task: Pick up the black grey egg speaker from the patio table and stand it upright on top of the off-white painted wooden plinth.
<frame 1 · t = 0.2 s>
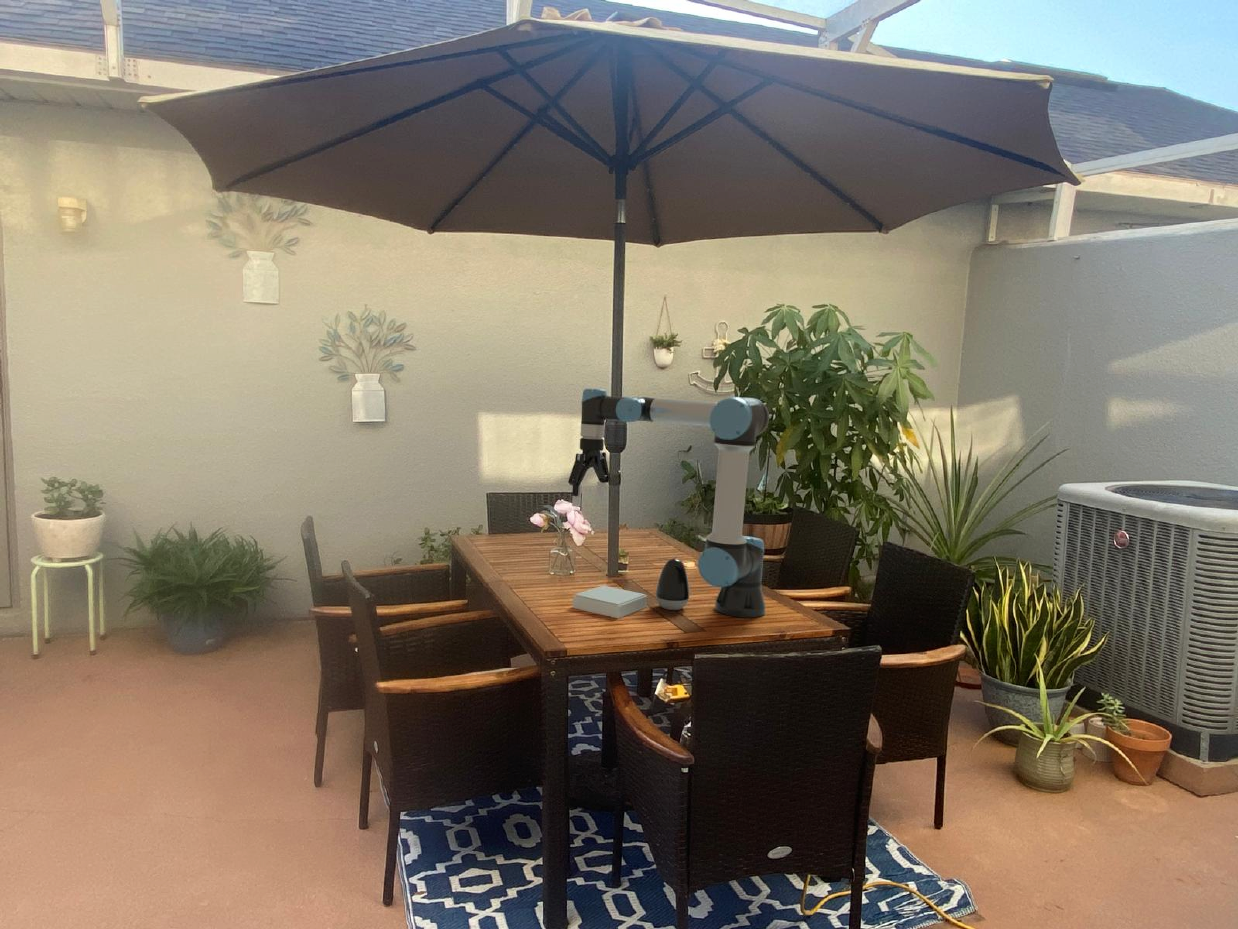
hand: (588, 504, 265), 28 cm above the table, fingers open, 13 cm apart
plinth: (609, 607, 248), on the table
black grey egg speaker: (671, 608, 252), on the table
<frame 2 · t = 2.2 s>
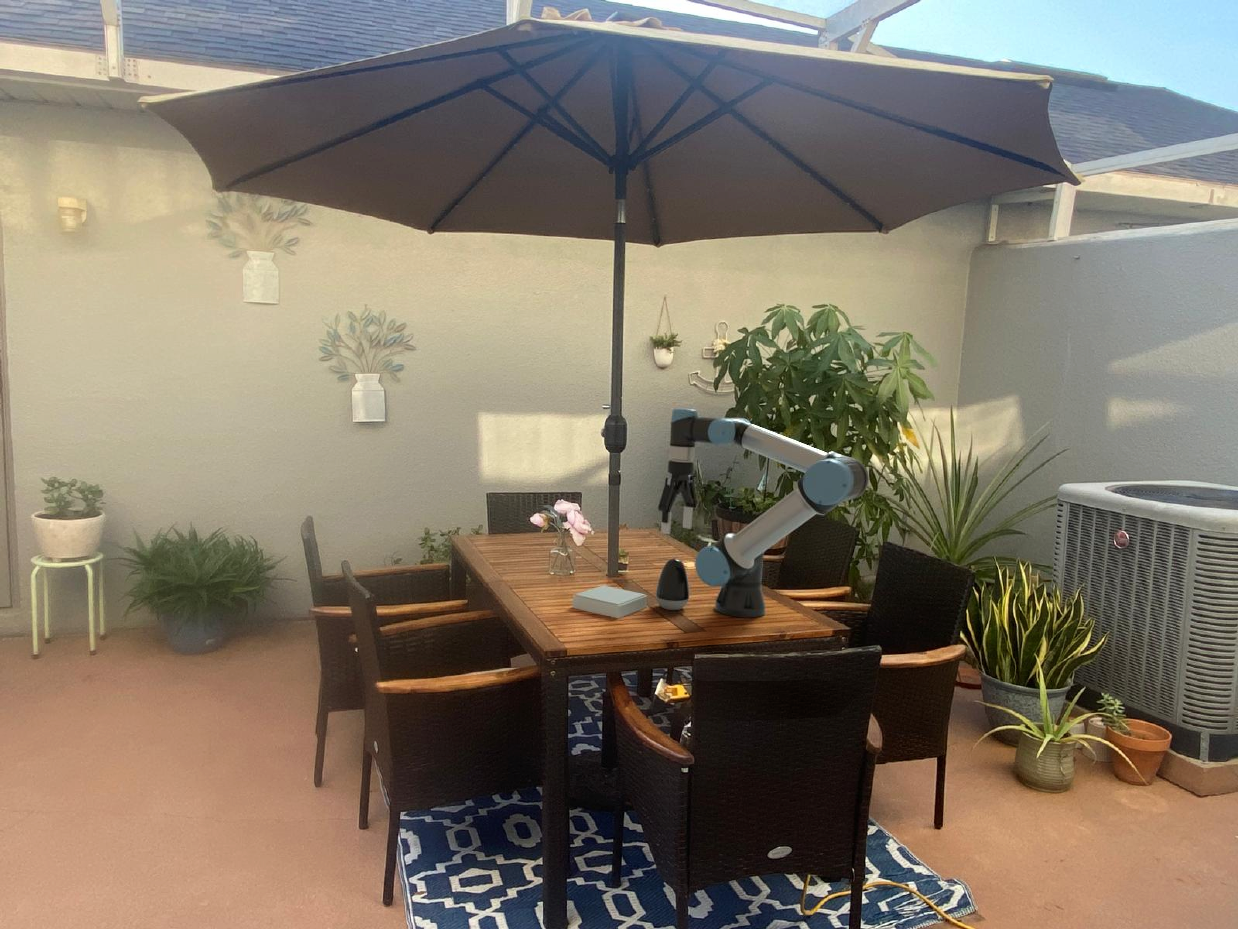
hand: (676, 530, 250), 24 cm above the table, fingers open, 13 cm apart
nothing on the table moved.
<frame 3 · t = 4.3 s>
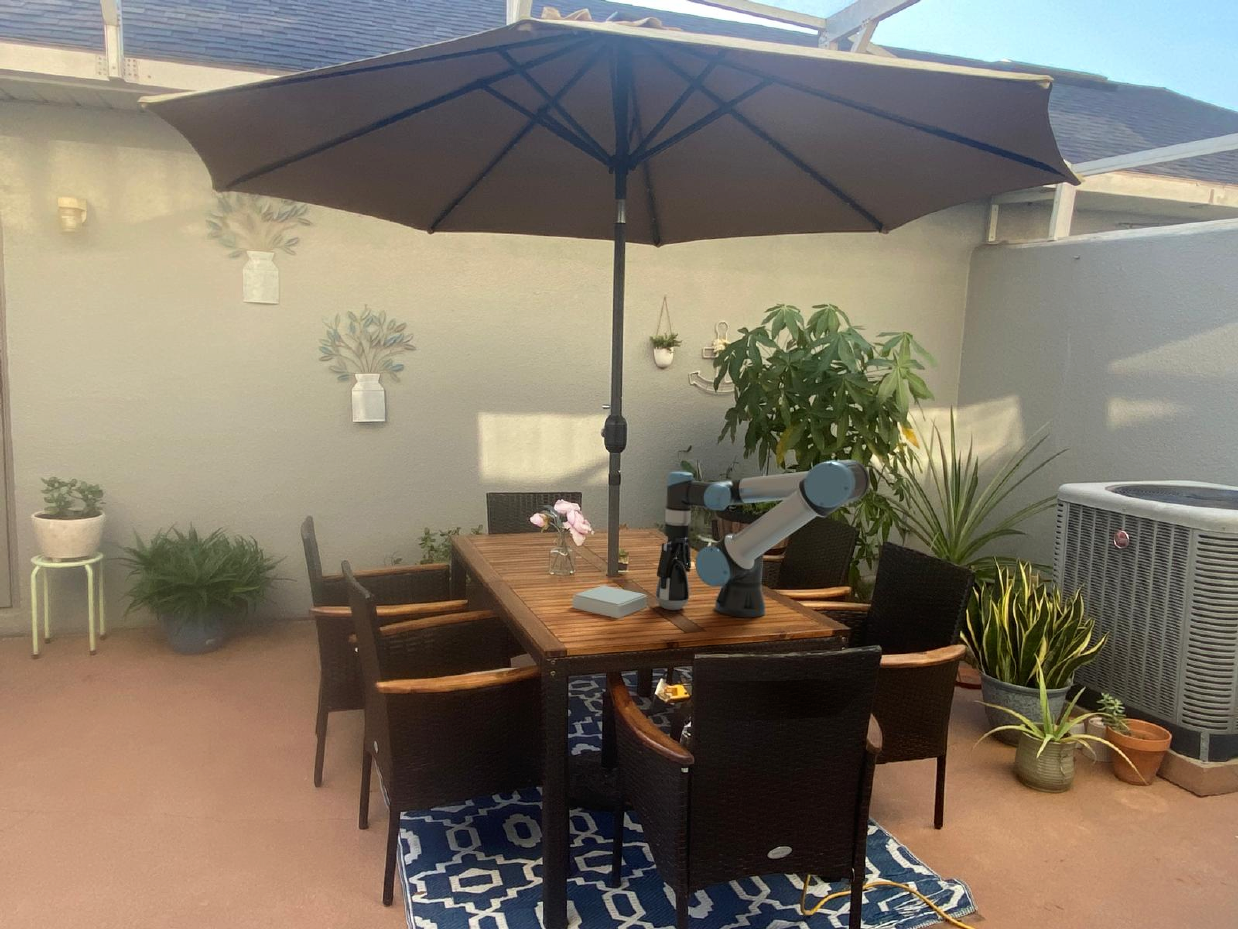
hand: (672, 595, 252), 4 cm above the table, fingers closed on black grey egg speaker, 10 cm apart
black grey egg speaker: (671, 608, 252), on the table, touching gripper
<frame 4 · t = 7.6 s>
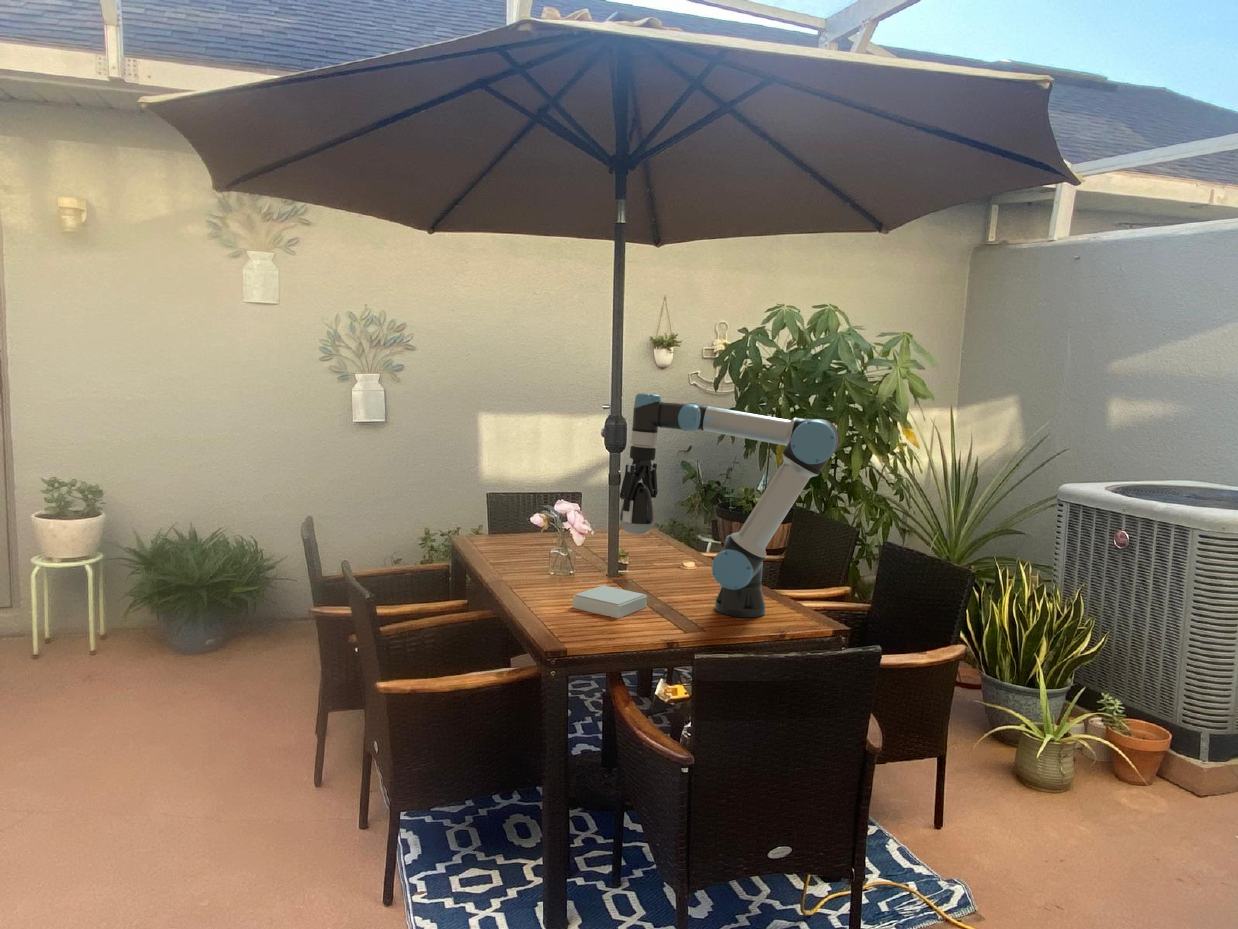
hand: (636, 520, 247), 27 cm above the table, fingers closed on black grey egg speaker, 10 cm apart
black grey egg speaker: (635, 533, 248), point 23 cm above the table, touching gripper
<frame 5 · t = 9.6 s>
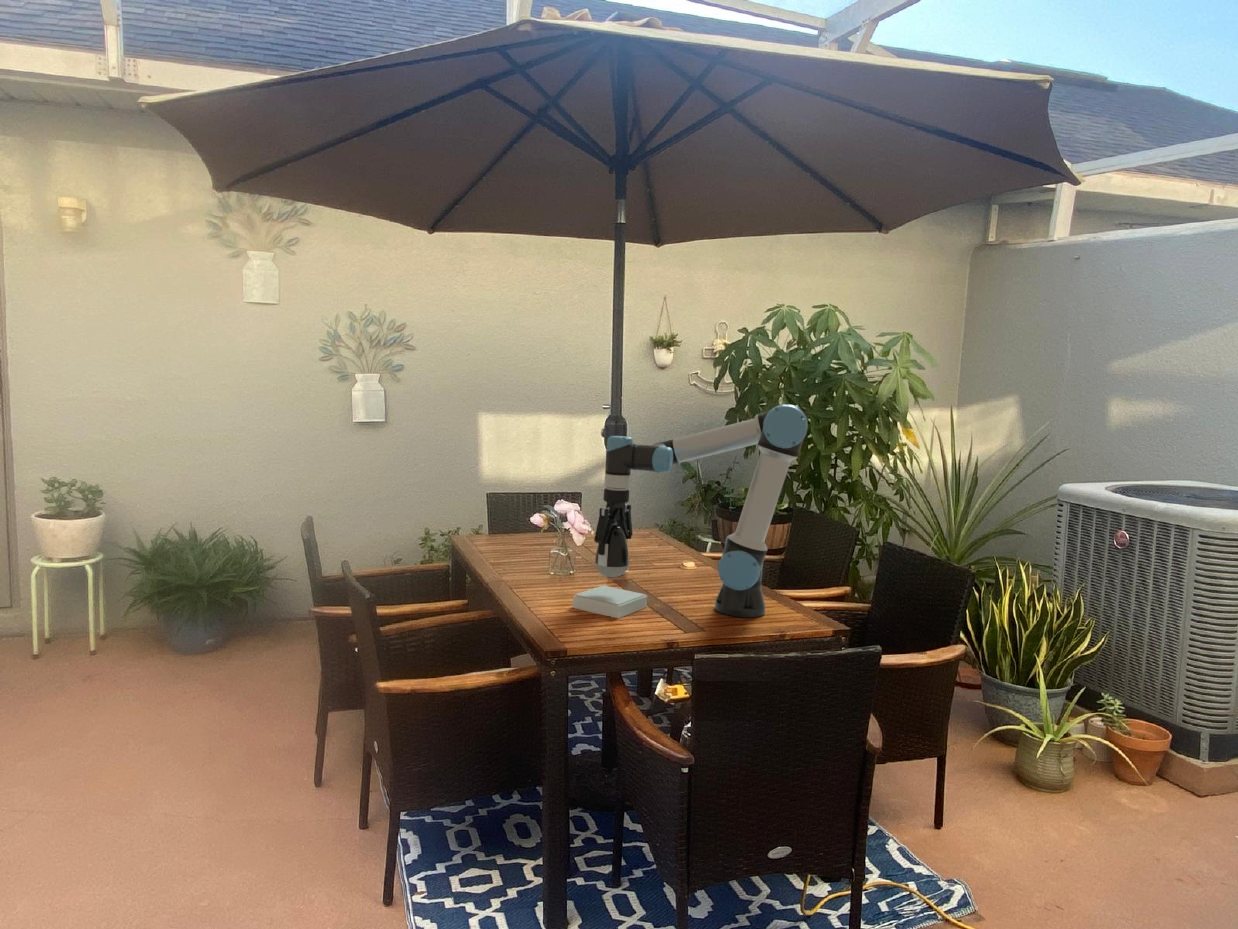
hand: (612, 562, 247), 14 cm above the table, fingers closed on black grey egg speaker, 10 cm apart
black grey egg speaker: (611, 575, 247), point 10 cm above the table, touching gripper
when the fingers open (9 cm above the table, at t = 11.0 s): black grey egg speaker drops 1 cm, resting on plinth.
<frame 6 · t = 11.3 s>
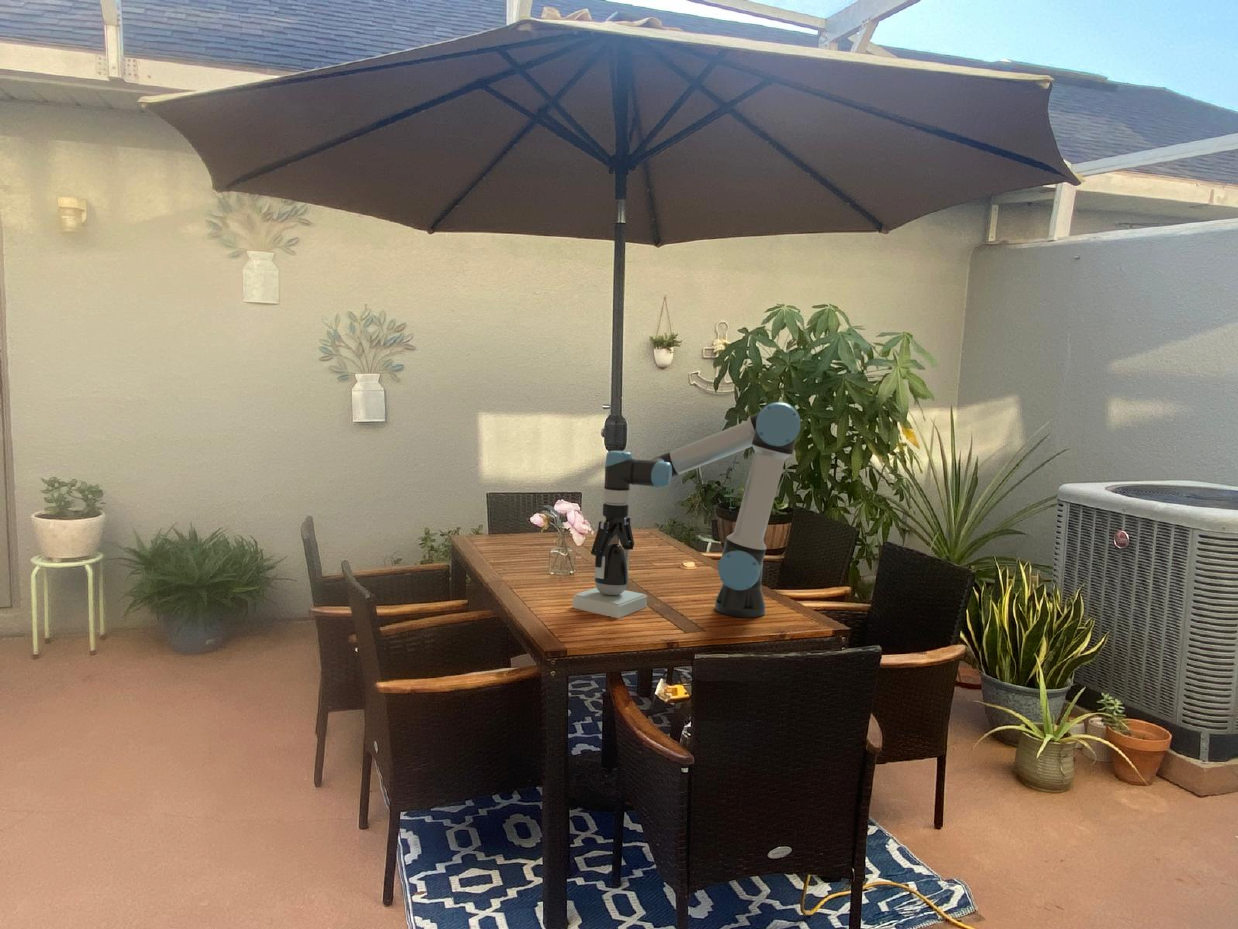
hand: (611, 574, 247), 10 cm above the table, fingers open, 13 cm apart
black grey egg speaker: (610, 594, 248), point 4 cm above the table, touching plinth
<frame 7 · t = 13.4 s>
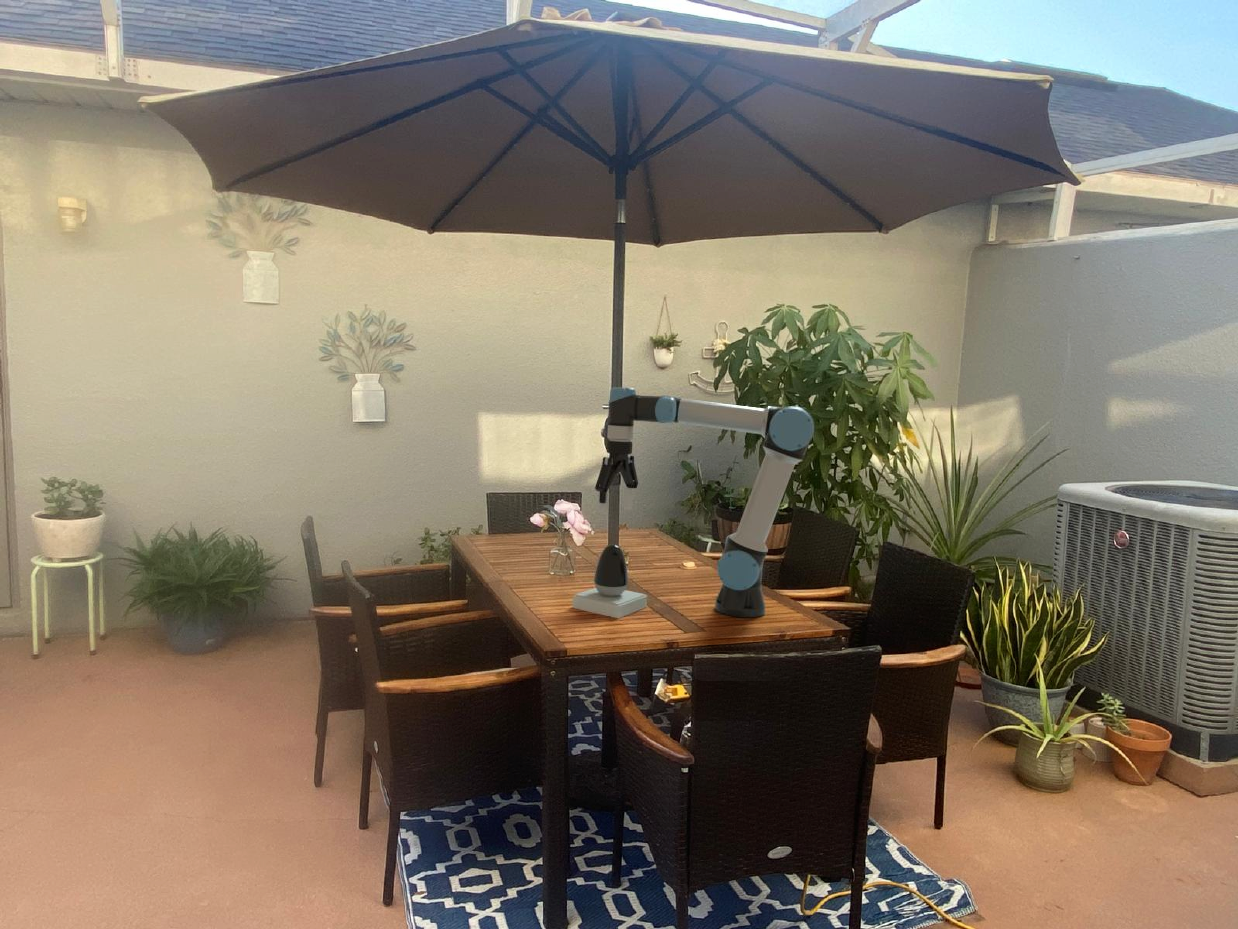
hand: (615, 511, 246), 29 cm above the table, fingers open, 13 cm apart
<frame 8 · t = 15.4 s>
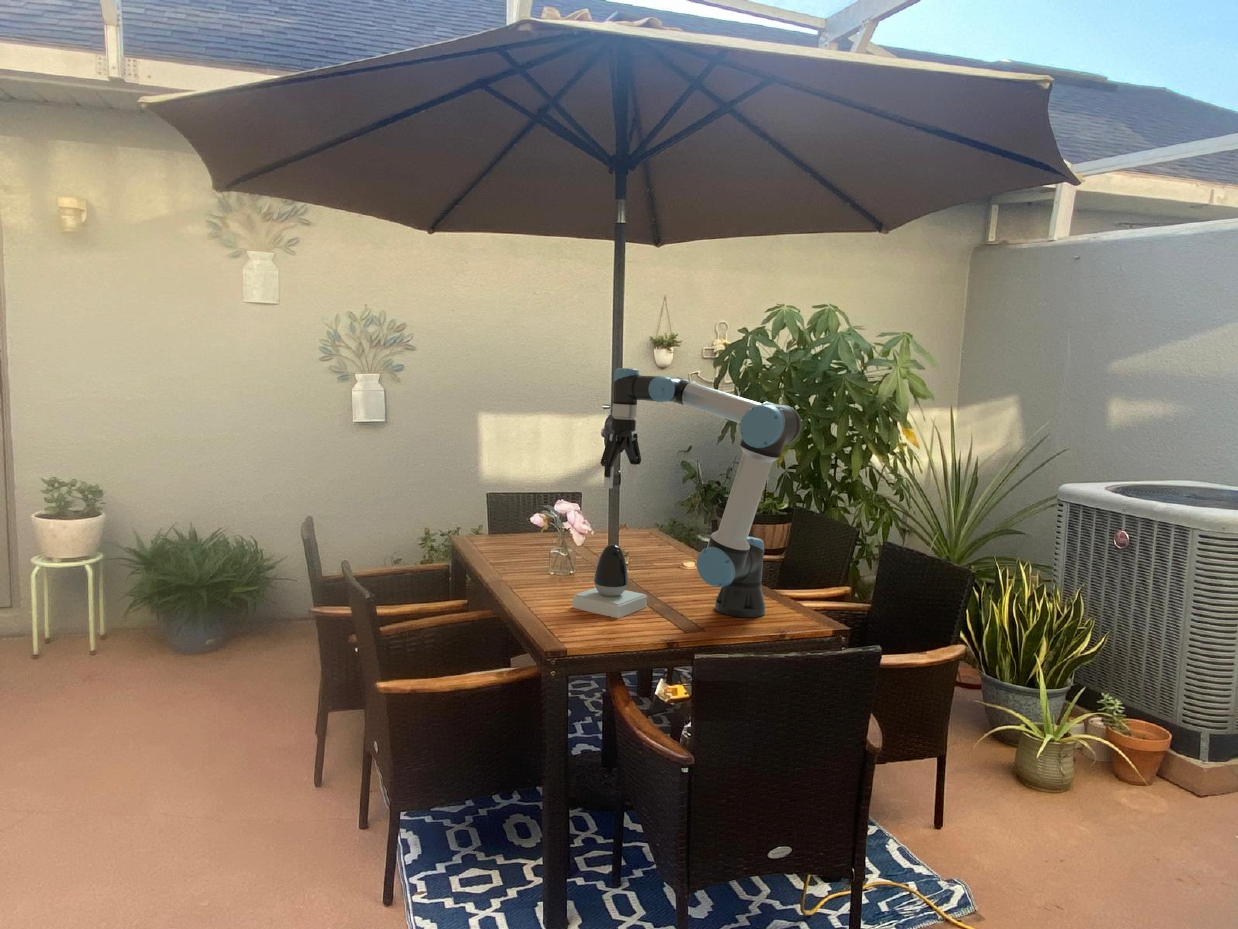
hand: (619, 486, 259), 35 cm above the table, fingers open, 13 cm apart
nothing on the table moved.
at the end: black grey egg speaker inside the target area on the plinth (0.2 cm from its centre), point 3.8 cm above the plinth's base; black grey egg speaker tilted 0°; the gripper is holding nothing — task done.
